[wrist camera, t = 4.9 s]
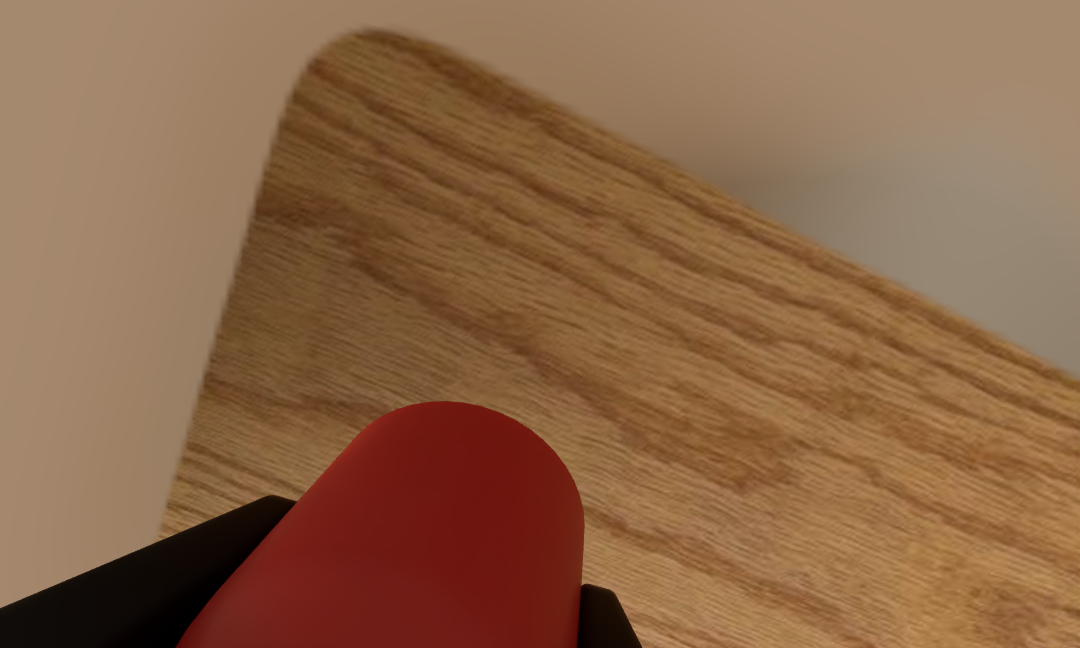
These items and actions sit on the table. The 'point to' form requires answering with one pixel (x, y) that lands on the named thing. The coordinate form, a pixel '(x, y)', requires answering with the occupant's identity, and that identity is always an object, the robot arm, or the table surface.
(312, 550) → the sriracha sauce bottle
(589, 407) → the table surface
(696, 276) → the table surface
